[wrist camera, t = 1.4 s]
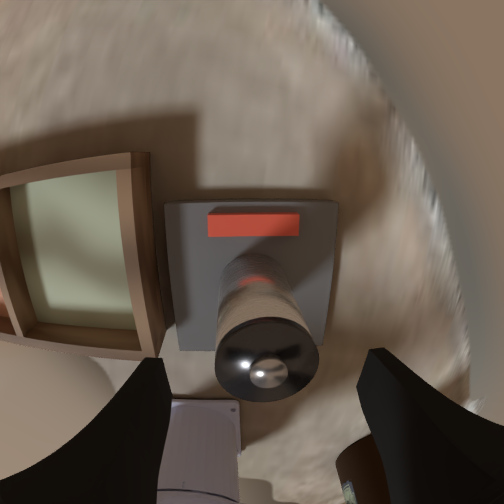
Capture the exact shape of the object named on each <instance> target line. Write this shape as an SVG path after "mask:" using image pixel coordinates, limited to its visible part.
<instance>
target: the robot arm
mask: <svg viewBox="0 0 504 504" xmlns="http://www.w3.org/2000/svg"><path fill="white" fill-rule="evenodd" d="M356 388H357V392H358V396H359V400H360V404H361V407H362V411H363V413H364V416H365V418H366V421H367V423H368V426H369V428H370V431H371V433H372V436H373V438H374V441H375V443H376V446H377V448H378V451H379V453H380V456H381V459H382V462H383V466H384V470H385V474H386V479H387V483H388V488H389V494H390V500H391V504H504V426H502V425H499V424H496V423H493V422H491V421H489V420H487V419H484V418H482V417H480V416H478V415H476V414H474V413H472V412H470V411H468V410H467V409H465V408H463V407H461V406H460V405H458V404H456V403H455V402H453V401H452V400H450V399H449V398H447V397H446V396H444V395H443V394H441V393H440V392H439V391H437V390H436V389H434V388H433V387H432V386H431V385H429V384H428V383H427V382H425V381H424V380H423V379H422V378H420V377H419V376H418V375H417V374H415V373H414V372H413V371H412V370H411V369H409V368H408V367H407V366H406V365H405V364H403V363H402V362H401V361H400V360H399V359H398V358H396V357H395V356H394V355H393V354H391V353H390V352H389V351H388V350H386V349H385V348H384V347H383V348H376V349H369V351H368V355H367V358H366V361H365V364H364V367H363V369H362V372H361V375H360V378H359V381H358V383H357V386H356ZM232 408H234V409H232ZM239 456H241V436H240V411H239V402H238V401H237V400H186V399H172V393H171V389H170V385H169V382H168V378H167V374H166V371H165V367H164V363H163V359H162V358H152V357H145V358H144V359H143V360H142V362H141V363H140V364H139V365H138V367H137V368H136V369H135V371H134V372H133V373H132V375H131V376H130V377H129V378H128V380H127V381H126V382H125V383H124V385H123V386H122V387H121V388H120V389H119V391H118V392H117V393H116V394H115V395H114V397H113V398H112V399H111V400H110V402H109V403H108V404H107V405H106V406H105V407H104V408H103V409H102V410H101V411H100V412H99V413H98V415H97V416H96V417H95V418H94V419H93V420H92V421H91V422H90V423H89V424H88V425H87V426H86V427H84V428H83V429H82V430H81V431H80V432H79V433H78V434H77V435H76V436H74V437H73V438H72V439H71V440H69V441H68V442H67V443H66V444H64V445H63V446H62V447H61V448H59V449H58V450H56V451H55V452H54V453H52V454H51V455H49V456H48V457H46V458H45V459H43V460H41V461H39V462H38V463H36V464H35V465H33V466H31V467H29V468H27V469H25V470H23V471H21V472H19V473H16V474H14V475H12V476H10V477H7V478H5V479H2V480H0V504H243V503H240V495H239V479H238V462H237V457H239Z"/></svg>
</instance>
